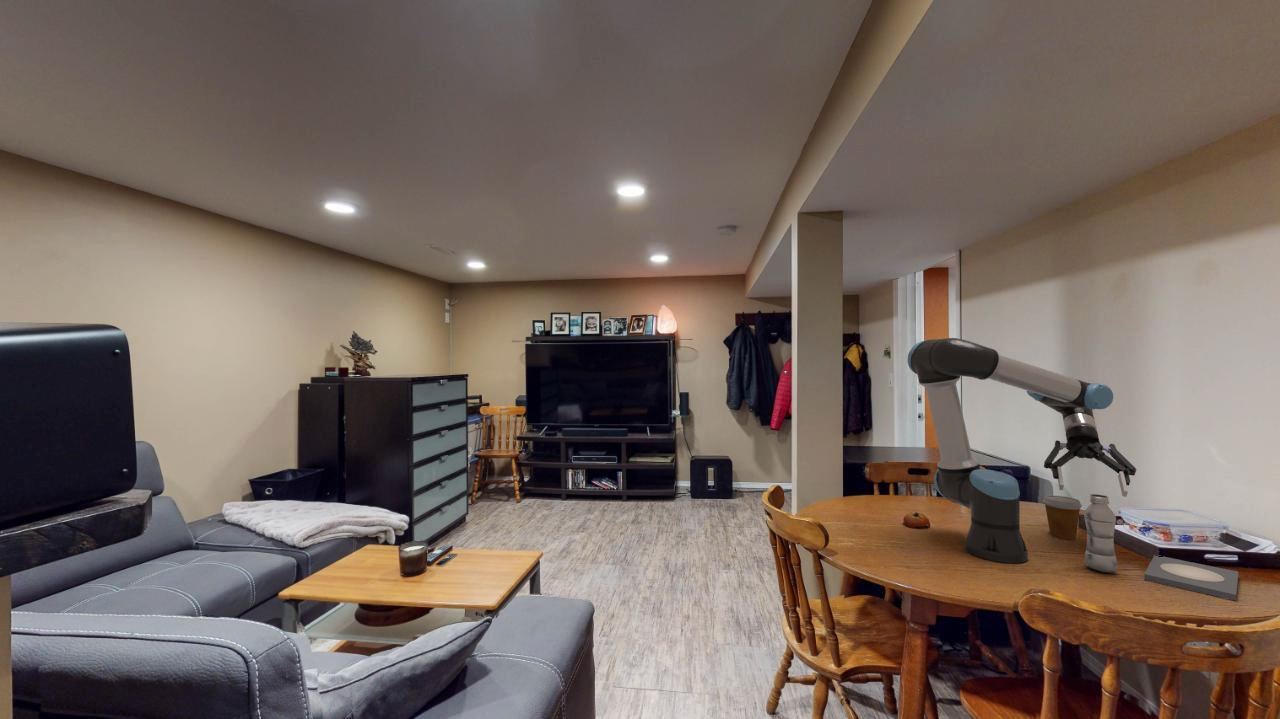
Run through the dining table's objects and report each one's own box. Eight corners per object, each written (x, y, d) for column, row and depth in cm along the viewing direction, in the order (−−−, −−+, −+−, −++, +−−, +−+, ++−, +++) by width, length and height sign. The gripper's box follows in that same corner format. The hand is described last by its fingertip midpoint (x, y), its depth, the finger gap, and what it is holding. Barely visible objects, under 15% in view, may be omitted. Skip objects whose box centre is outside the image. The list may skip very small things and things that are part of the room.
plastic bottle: (1110, 567, 134) (1109, 494, 134) (1122, 577, 128) (1120, 500, 128) (1080, 564, 137) (1078, 491, 137) (1090, 573, 131) (1088, 497, 131)
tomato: (897, 521, 171) (906, 503, 173) (902, 530, 175) (911, 513, 177) (921, 530, 165) (930, 512, 167) (926, 540, 168) (935, 522, 171)
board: (1235, 601, 115) (1235, 593, 115) (1144, 579, 127) (1144, 573, 127) (1238, 577, 127) (1238, 571, 127) (1154, 560, 139) (1154, 554, 139)
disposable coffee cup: (1091, 541, 154) (1090, 502, 154) (1060, 541, 154) (1059, 503, 154) (1065, 531, 163) (1064, 495, 164) (1036, 531, 164) (1035, 495, 164)
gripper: (1134, 442, 149) (1151, 504, 136) (1029, 436, 163) (1036, 492, 150) (1139, 426, 145) (1156, 489, 132) (1031, 422, 158) (1037, 478, 146)
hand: (1092, 490), depth 141 cm, fingers open, 13 cm apart
